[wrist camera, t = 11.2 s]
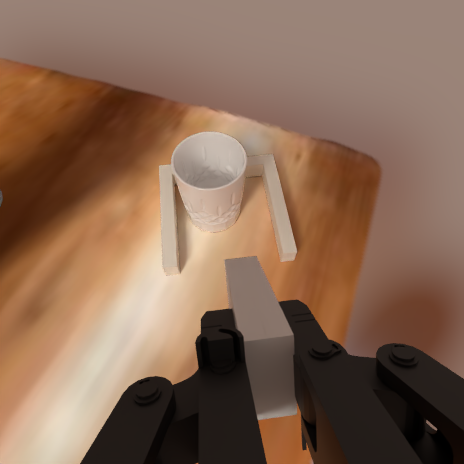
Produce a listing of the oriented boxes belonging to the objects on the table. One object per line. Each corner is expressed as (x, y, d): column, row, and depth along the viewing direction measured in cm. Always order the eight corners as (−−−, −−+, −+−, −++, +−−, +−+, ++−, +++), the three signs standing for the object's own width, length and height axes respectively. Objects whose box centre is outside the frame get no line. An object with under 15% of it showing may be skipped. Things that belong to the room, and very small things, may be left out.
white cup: (235, 180, 46) (236, 125, 37) (251, 229, 42) (256, 181, 34) (178, 192, 45) (165, 138, 36) (189, 243, 42) (178, 197, 33)
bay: (293, 260, 40) (297, 251, 38) (166, 275, 39) (162, 267, 37) (271, 165, 47) (273, 153, 45) (162, 176, 46) (159, 165, 44)
